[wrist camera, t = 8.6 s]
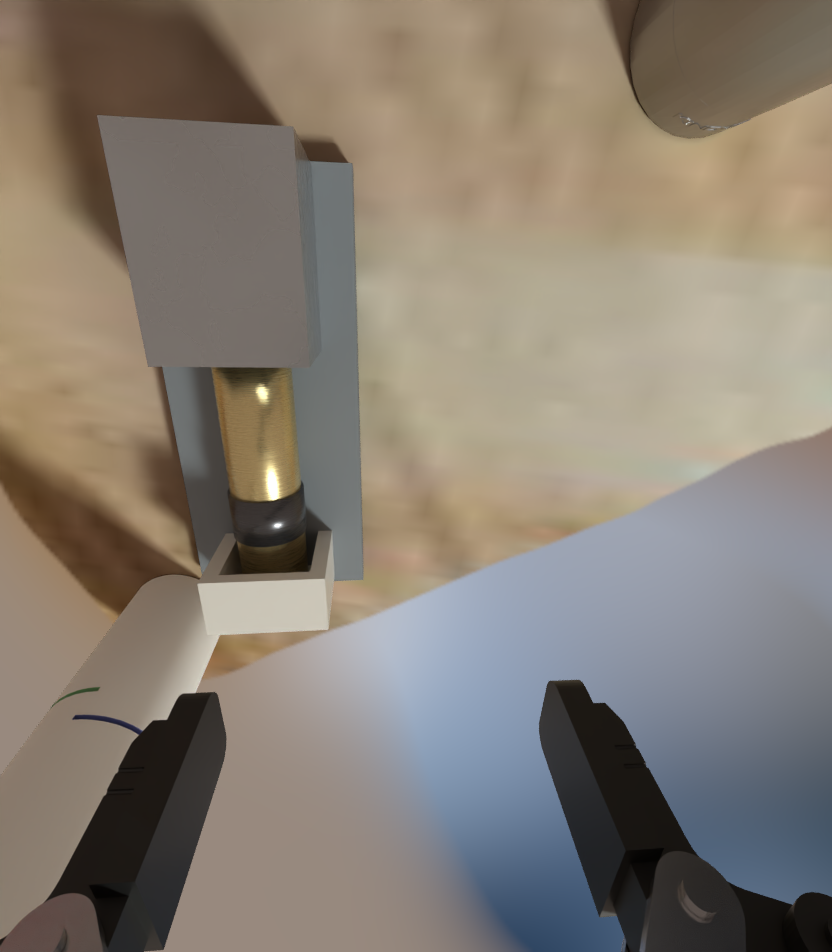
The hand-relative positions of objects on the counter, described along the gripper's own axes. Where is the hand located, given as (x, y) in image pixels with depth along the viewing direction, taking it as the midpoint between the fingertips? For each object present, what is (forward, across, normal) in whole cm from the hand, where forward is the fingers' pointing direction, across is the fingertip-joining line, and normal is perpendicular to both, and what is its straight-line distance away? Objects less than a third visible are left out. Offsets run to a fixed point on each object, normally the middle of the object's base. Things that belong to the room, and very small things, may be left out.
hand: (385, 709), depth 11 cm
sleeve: (+22, +8, -10) cm, 25 cm away
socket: (+21, +7, +10) cm, 25 cm away
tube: (+22, +8, +1) cm, 23 cm away
